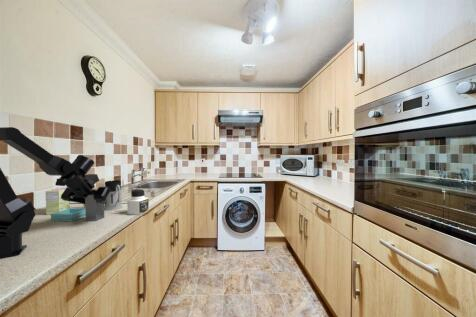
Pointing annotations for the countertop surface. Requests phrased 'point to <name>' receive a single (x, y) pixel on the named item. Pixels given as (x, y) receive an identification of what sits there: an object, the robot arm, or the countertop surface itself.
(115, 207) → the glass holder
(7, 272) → the countertop surface
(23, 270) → the countertop surface
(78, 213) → the teal tray
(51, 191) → the box
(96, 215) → the tall grey square pillar
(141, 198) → the medicine bottle
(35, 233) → the countertop surface
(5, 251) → the robot arm
